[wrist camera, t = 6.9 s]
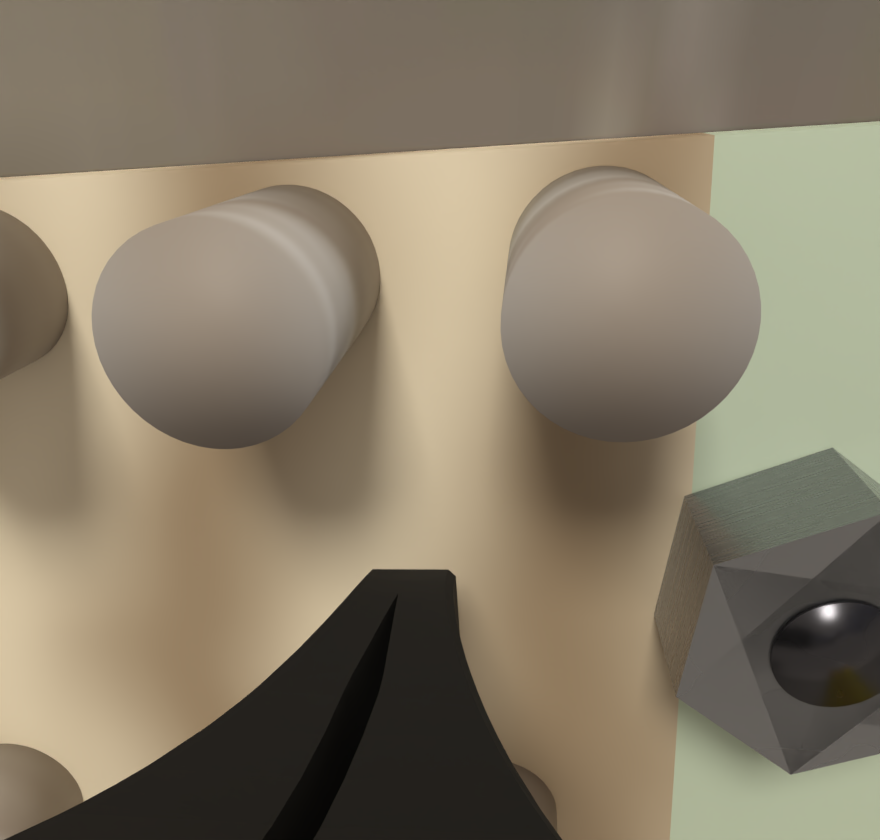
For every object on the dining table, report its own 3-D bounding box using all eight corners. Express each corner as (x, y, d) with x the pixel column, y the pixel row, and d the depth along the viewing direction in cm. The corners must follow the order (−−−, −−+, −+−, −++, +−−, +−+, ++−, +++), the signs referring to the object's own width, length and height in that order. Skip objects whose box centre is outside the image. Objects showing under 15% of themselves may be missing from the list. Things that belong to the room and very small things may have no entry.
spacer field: (702, 132, 11) (798, 151, 7) (661, 839, 16) (703, 1074, 12) (-282, 196, 13) (-636, 237, 9) (-36, 808, 18) (-191, 1004, 14)
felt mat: (1083, 108, 10) (1123, 108, 10) (914, 849, 16) (931, 884, 15) (702, 132, 11) (713, 134, 10) (661, 839, 16) (667, 871, 16)
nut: (912, 421, 12) (989, 484, 10) (963, 628, 13) (1040, 719, 11) (614, 518, 13) (632, 592, 11) (689, 700, 14) (716, 795, 12)
